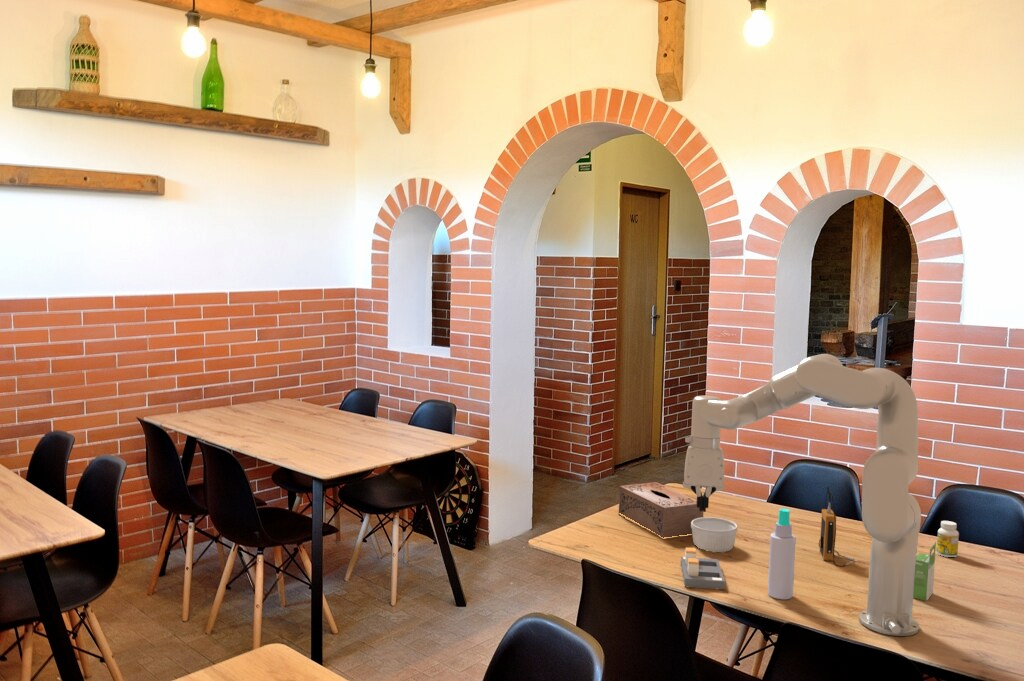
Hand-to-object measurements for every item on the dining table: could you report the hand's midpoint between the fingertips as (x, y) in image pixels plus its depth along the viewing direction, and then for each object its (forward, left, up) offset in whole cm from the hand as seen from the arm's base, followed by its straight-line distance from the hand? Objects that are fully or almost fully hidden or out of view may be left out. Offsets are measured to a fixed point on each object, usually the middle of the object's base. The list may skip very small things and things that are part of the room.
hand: (702, 510), depth 218 cm
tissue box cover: (+40, +9, -18) cm, 45 cm away
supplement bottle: (+28, -73, -18) cm, 80 cm away
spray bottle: (-12, -19, -18) cm, 28 cm away
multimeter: (+19, -41, -18) cm, 49 cm away
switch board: (-3, 0, -17) cm, 17 cm away
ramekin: (+22, -6, -18) cm, 29 cm away
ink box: (-5, -55, -18) cm, 58 cm away
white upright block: (-7, +2, -17) cm, 19 cm away
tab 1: (+1, +2, -17) cm, 18 cm away
